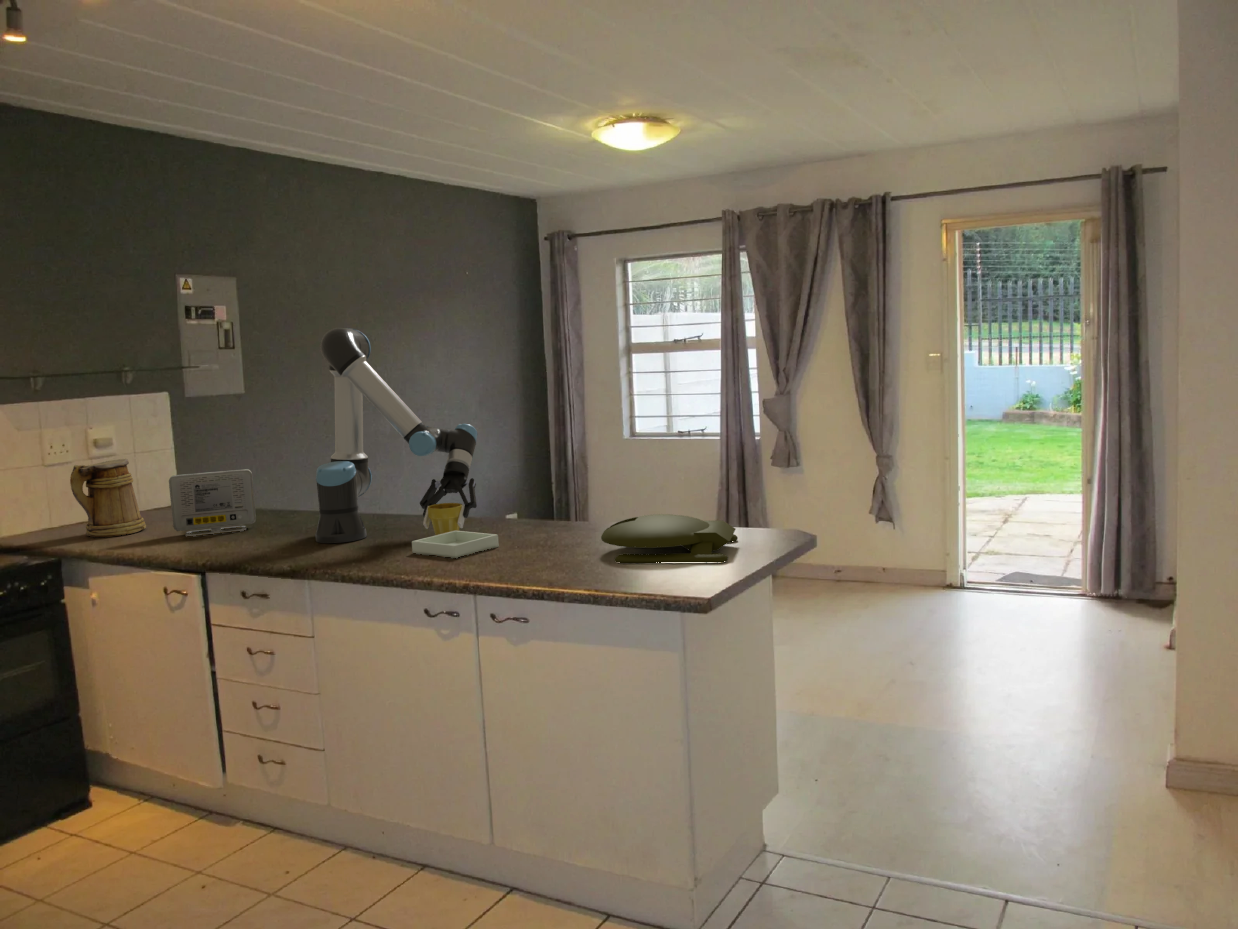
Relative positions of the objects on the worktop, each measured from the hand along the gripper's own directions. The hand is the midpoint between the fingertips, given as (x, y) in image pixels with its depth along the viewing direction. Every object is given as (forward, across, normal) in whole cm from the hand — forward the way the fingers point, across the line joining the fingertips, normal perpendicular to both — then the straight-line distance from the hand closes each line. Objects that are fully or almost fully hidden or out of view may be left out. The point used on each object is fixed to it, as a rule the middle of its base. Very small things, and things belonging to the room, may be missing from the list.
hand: (442, 526), depth 296 cm
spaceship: (+17, -71, +11) cm, 74 cm away
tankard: (-8, +126, -14) cm, 128 cm away
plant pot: (+1, 0, -5) cm, 5 cm away
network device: (-9, +87, -15) cm, 89 cm away
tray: (+14, -10, +8) cm, 19 cm away
